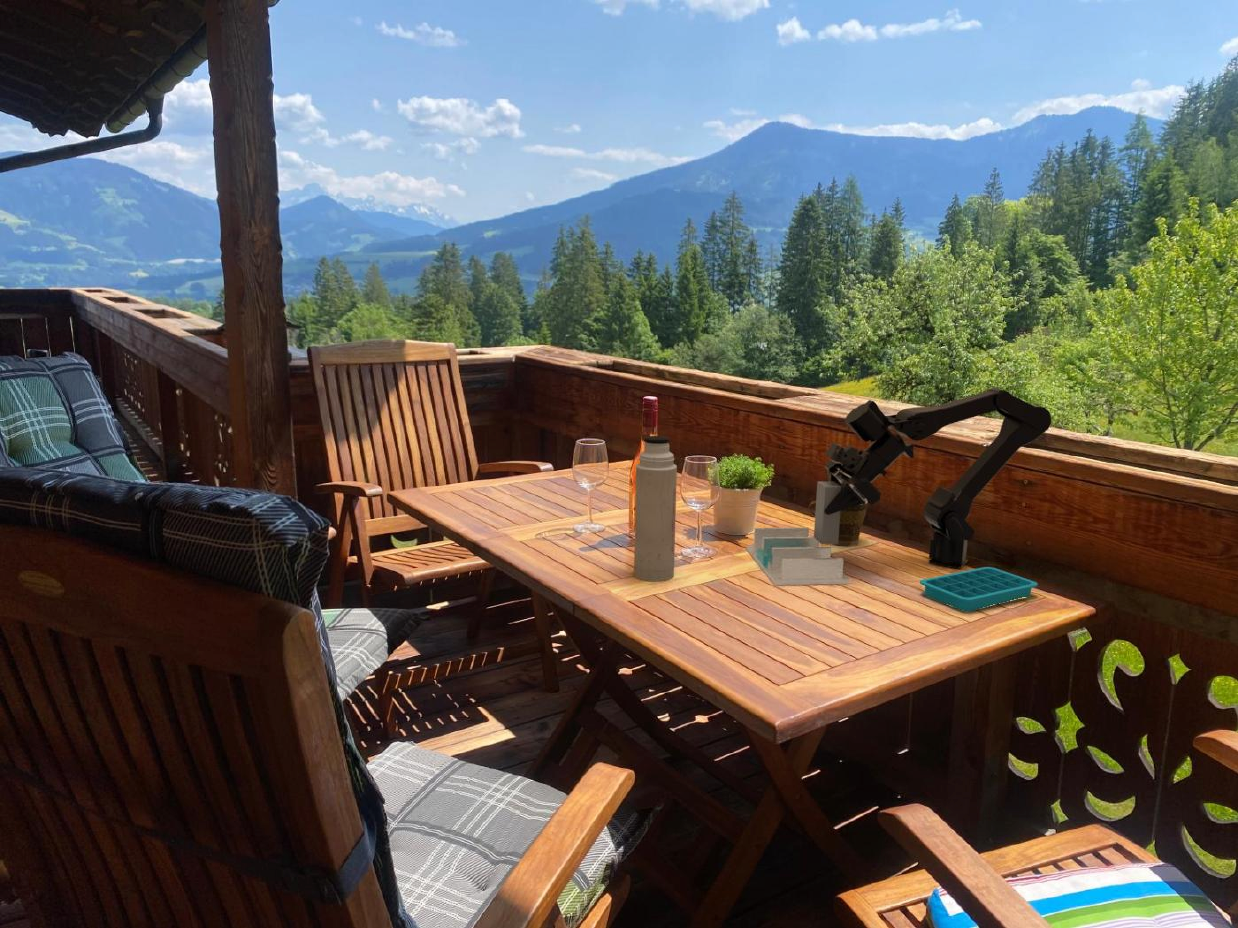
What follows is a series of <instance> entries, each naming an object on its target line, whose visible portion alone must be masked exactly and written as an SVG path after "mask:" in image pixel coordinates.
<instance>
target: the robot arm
mask: <svg viewBox="0 0 1238 928" xmlns="http://www.w3.org/2000/svg"><path fill="white" fill-rule="evenodd" d="M995 411H996V412H997V413H998V414H999V415H1001V416H1002V417H1004V418H1003V420H1002V423H1001V427H1000V431H999V434H998V435H997V436H996V438H995V439H994V440H993V441H992V442H991V443H990V444H989V445H988V446H987V448H986V449H985V450H984V451H983V452H982V453H981V454H980V455H979V456H978V458H977V459H976V460H975V461H974V462H973V463H972V464H971V466H970V467H969V468H967V470H966V471H965V472H964V473H963V475H962V476H961V477H960V478H959V479H958V480H957V481H956V483H954V484H953V485H952V486H950V487H948V488H947V489H946V488H944V487H942V486H938V487H937V488H936V489H935V491H934V493H933V494H932V495H931V496H930V497H928V498H926V502H927V503H926V504H925V506H924V508H923V510H924V512H923V513H924V514H923V515H924V518H925V520H926V521H927V522H928V523H929V525H930V526H929V527H930V529H931V530H933V531H934V533H933V537H932V538H931V539H930V540H929V542H930V543H929V553H928V558H929V560H928V564H932V565H937V566H942V567H948V568H953V569H958V570H959V569H962V568H963V567H964V566H965V565H966V564H967V563H968V559H967V549H968V541H972V539H973V537H974V534H975V530H974V528H973V527H972V526H971V525H970V524H969V523H968V522H967V521H966V520H967V519H968V516H969V515H970V514H971V511H972V510H971V509H972V505H973V502H974V500H975V499H976V498H977V496H978V495H979V494H980V493H981V492H982V491H983V489H985V487H987V485H988V484H989V483H990V482H991V480H992V479H994V477H995V476H996V475H997V473H999V472H1000V470H1001V469H1002V468H1003V467H1005V465H1006V464H1007V462H1009V460H1010V459H1011V458H1012V457H1013V456H1014V455H1015V454H1016V453H1017V452H1018V451H1019V449H1020V448H1022V447H1024V446H1026V445H1028V444H1031V443H1032V442H1034V441H1036V440H1037V439H1039V438H1040V437H1041V436H1042V435H1044V433H1046V432H1047V431H1048V430H1049V429H1050V427H1051V425H1052V416H1051V412H1050V411H1049V410H1048V409H1047V408H1046V407H1043V406H1039V405H1036V404H1032V403H1029V402H1027V401H1024V400H1023V399H1020V398H1019V397H1016V396H1015V395H1013V394H1011V393H1010V392H1009V391H1008V390H1005V389H1001V388H995V387H994V388H993V387H992V388H989V389H987V390H985V391H983V392H979V393H975V394H973V395H968V396H966V397H962V398H959V399H956V400H952V401H948V402H946V403H945V402H944V403H941V404H938V405H934V406H918V407H911V408H903V409H901V410H898V412H897V413H896V414H889V415H885V413H884V412H883V411H882V410H881V409H880V407H879V405H878V404H877V403H876V402H875V400H870V399H868V400H867V401H866V402H865V403H862V404H860V405H859V406H857V407H855V408H852V409H851V410H850V411H849V413H848V414H846V417H845V418H844V421H845V423H846V425H847V426H848V427H849V428H850V429H851V430H852V431H853V432H854V433H855V435H857V436H858V438H859V439H860V440H861V441H862V443H863V442H865V443H866V442H870V444H869V445H868V446H866V448H865V449H864V450H863V449H862V448H861V449H860V448H859V449H857V448H856V447H853V446H851V445H846V446H845V447H843V446H842V445H840V444H838V443H835V442H833V441H832V442H831V443H830V446H829V447H828V449H827V451H826V453H825V457H828V458H829V459H830V460H829V461H828V462H826V464H825V465H824V466H823V467H824V468H825V469H826V470H827V478H828V479H827V480H828V481H827V482H835V483H837V484H838V485H840V486H841V491H840V492H839V493H838V495H837V496H836V497H835V498H834V499H833V500H832V502H831V503H830V504H829V505H828V506H827V508H826V509H825V510H824V512H825V513H826V514H827V515H830V514H833V513H836V512H838V511H841V510H844V509H847V508H851V507H854V506H857V505H861V504H863V505H864V504H865V502H864V501H863V500H864V499H866V500H867V502H868V504H869V505H870V506H872V507H874V506H875V505H877V504H878V503H879V502H880V501H881V496H882V495H881V494H882V493H881V492H880V491H879V490H878V489H877V487H875V485H873V482H874V481H875V480H876V479H877V478H878V477H879V476H880V475H881V476H882V477H885V476H886V474H888V472H887V471H886V469H888V468H889V467H890V466H891V465H892V464H893V463H894V462H896V460H897V459H898V458H900V456H901V455H904V456H905V457H907V458H910V459H913V458H914V454H915V453H914V449H915V448H914V447H915V444H912V443H910V442H908V443H907V442H906V441H905V440H904V438H907V439H910V440H912V441H916V442H917V441H922V440H924V439H927V438H929V437H930V436H933V435H934V434H937V433H938V432H939V431H940V430H942V429H943V428H944V427H946V426H949V425H951V424H952V425H953V424H955V423H958V422H963V421H965V420H968V419H972V418H974V417H978V416H982V415H985V414H989V413H992V412H995ZM889 429H890V430H893V431H895V432H896V433H897V434H896V433H895V434H893V433H892V432H891V431H890V430H889ZM902 437H904V438H902Z"/></svg>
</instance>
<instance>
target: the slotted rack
mask: <svg viewBox="0 0 1238 928" xmlns="http://www.w3.org/2000/svg"><path fill="white" fill-rule="evenodd" d="M809 533H810V528H809V527H808V526H807V527H804V526H802V527H800V526H799V527H795V526H794V527H793V526H792V527H754V531H753V544H747V545H746V551H747V552H748V553H749V554H750V555H751V558H752V559H753V560H754V562H755V563H756V564H757V565H758V566H759V568H761V569H762V572H764V574H765V575H766V577H768V579H769V580H770V581H771V582H772V584H773V585H774V586H800V585H802V586H806V585H809V586H811V585H812V586H813V585H814V586H815V585H850V583H851V578H850V577H849V576H848V575H846V574H845V573H844V572H843V571H844V570H843V569H844V558H843V557H831V553H832V548H831V547H830V546H820V542H818V541H817V540H816V539H815V538H814V536H809V535H810V534H809Z"/></svg>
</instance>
